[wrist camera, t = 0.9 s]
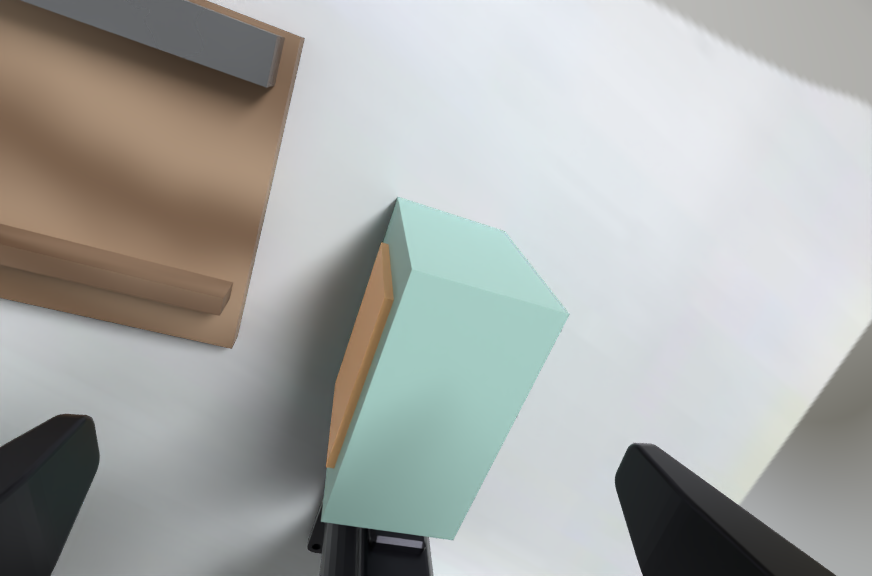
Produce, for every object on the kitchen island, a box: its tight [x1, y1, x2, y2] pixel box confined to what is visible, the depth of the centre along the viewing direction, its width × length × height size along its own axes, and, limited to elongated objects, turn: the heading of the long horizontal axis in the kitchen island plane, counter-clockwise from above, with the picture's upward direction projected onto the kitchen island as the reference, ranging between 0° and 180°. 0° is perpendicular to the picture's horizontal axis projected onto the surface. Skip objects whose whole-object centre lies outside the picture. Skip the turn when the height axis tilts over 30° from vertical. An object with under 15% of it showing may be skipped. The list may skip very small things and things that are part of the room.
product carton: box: [321, 197, 569, 540], centre depth 19 cm, size 10×5×8 cm, turn 160°
